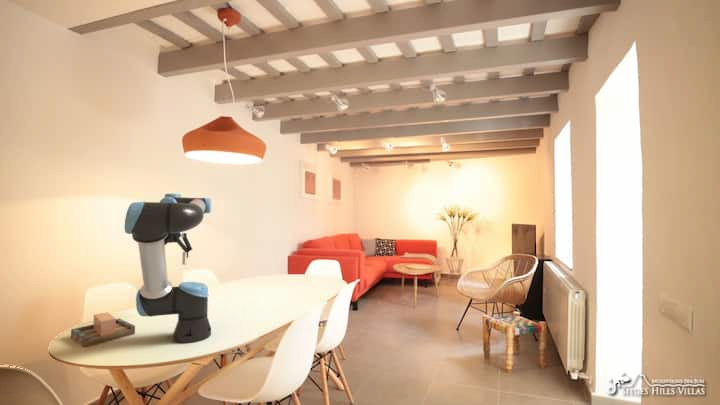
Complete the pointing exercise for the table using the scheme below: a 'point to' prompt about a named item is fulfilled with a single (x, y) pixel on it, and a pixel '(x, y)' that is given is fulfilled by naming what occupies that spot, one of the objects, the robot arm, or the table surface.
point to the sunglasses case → (104, 324)
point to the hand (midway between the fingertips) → (171, 266)
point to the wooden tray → (91, 337)
